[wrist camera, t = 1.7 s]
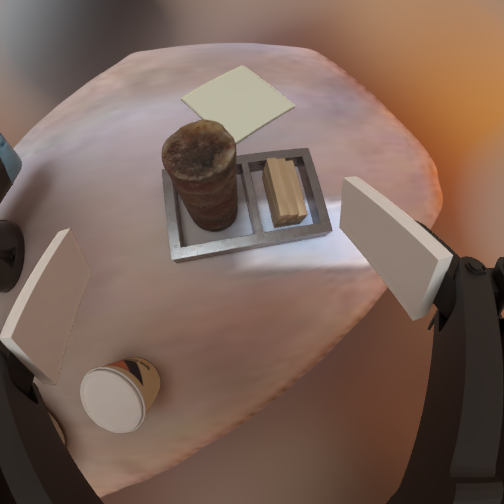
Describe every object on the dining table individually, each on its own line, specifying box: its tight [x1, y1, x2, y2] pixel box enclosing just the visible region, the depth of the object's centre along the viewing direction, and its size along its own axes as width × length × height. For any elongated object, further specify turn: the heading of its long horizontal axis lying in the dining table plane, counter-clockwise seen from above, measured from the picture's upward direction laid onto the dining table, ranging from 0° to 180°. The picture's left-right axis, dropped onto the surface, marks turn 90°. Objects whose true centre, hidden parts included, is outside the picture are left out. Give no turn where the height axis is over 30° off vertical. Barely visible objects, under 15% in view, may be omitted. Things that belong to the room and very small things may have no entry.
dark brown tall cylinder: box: [162, 119, 237, 231], centre depth 33 cm, size 8×7×20 cm
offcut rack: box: [162, 148, 332, 263], centre depth 41 cm, size 24×14×4 cm, turn 101°
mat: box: [181, 65, 295, 144], centre depth 47 cm, size 16×16×1 cm
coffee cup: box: [80, 357, 160, 433], centre depth 31 cm, size 9×9×12 cm
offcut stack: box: [262, 158, 307, 228], centre depth 41 cm, size 4×9×6 cm, turn 11°
